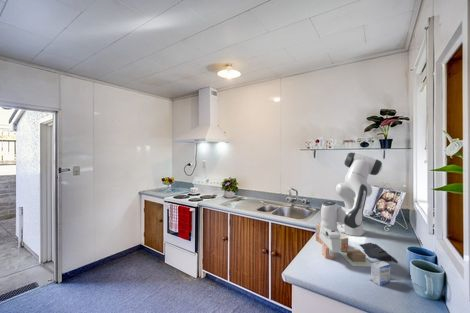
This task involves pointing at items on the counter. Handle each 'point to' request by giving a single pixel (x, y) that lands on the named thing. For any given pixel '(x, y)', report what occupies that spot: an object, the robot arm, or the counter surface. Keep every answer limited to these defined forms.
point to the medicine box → (380, 272)
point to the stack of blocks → (342, 239)
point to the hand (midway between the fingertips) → (328, 252)
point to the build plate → (355, 262)
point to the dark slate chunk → (376, 252)
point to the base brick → (356, 255)
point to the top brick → (326, 252)
